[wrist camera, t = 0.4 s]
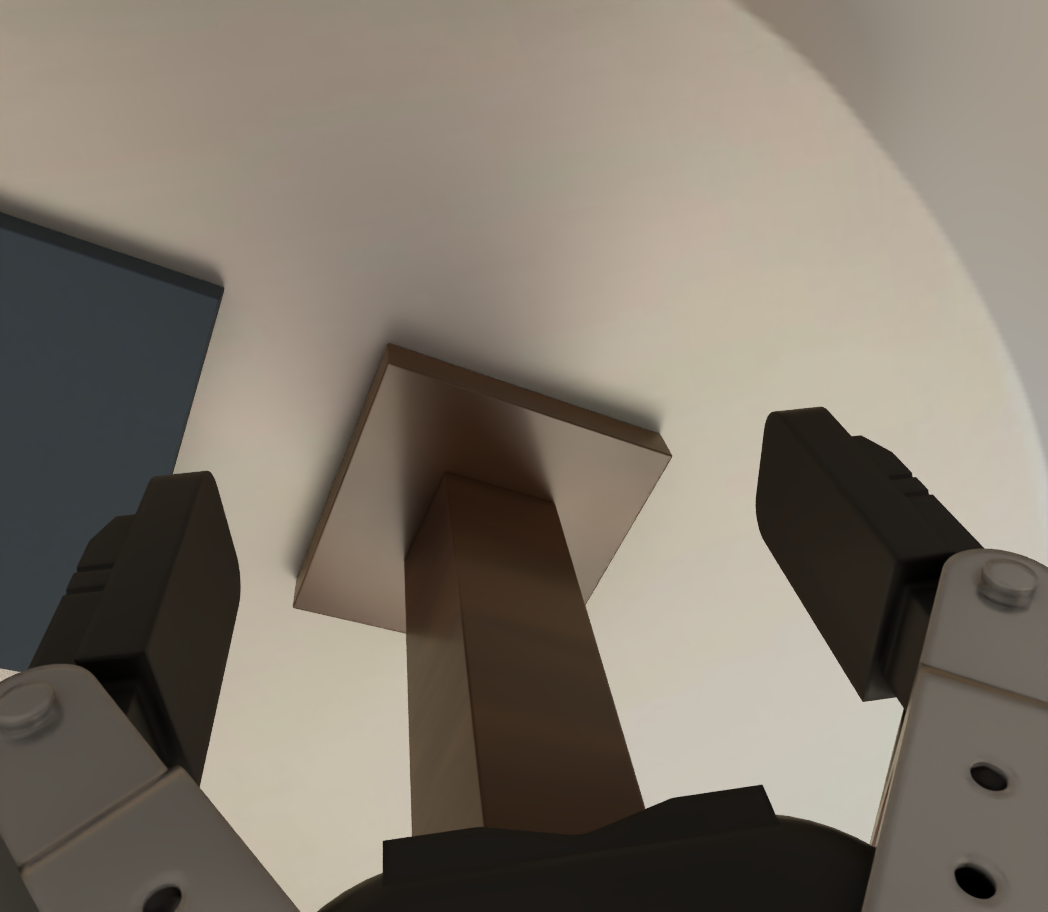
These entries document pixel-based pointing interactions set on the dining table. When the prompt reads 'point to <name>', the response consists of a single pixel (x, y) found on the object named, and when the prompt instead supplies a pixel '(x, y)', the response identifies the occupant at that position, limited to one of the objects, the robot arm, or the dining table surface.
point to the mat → (83, 405)
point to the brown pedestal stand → (488, 588)
